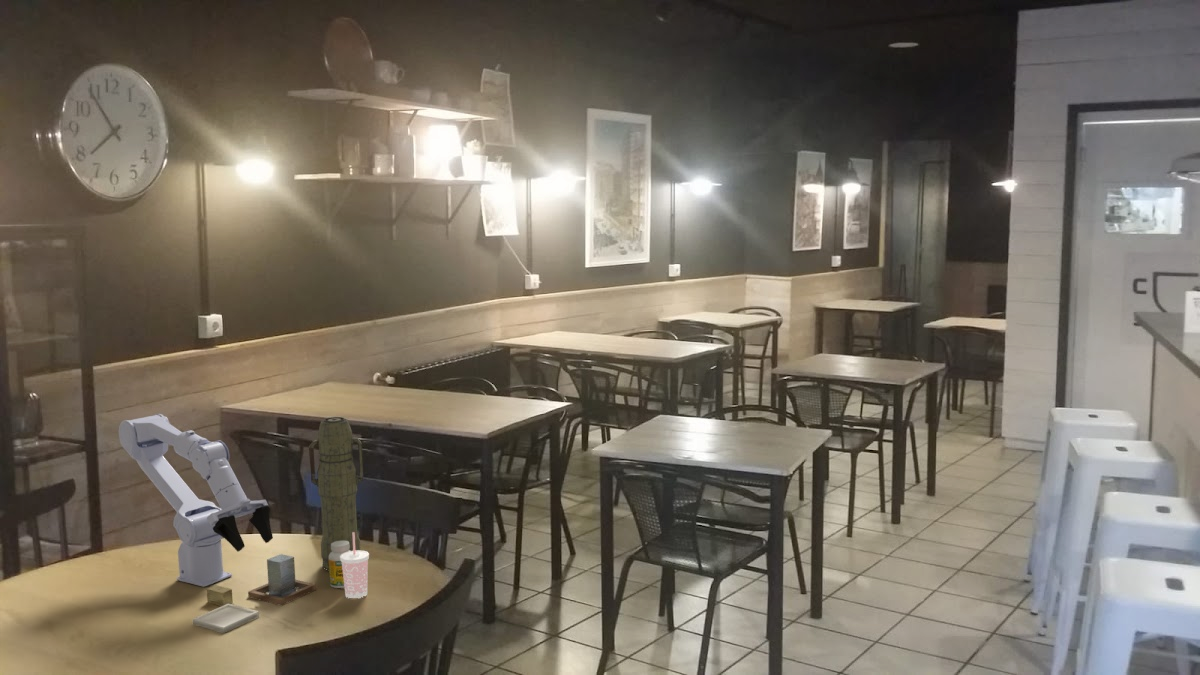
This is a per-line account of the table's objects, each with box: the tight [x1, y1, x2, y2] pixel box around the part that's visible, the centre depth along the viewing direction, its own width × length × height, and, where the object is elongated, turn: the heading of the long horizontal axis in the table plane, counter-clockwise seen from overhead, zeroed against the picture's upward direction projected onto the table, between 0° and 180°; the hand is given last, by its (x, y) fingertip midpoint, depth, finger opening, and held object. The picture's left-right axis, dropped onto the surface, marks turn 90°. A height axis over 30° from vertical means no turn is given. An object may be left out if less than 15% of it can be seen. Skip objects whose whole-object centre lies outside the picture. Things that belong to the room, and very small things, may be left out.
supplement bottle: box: [328, 541, 350, 589], centre depth 228 cm, size 5×5×10 cm
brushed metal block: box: [266, 553, 297, 598], centre depth 223 cm, size 4×4×8 cm
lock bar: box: [206, 584, 233, 607], centre depth 219 cm, size 5×2×3 cm, turn 60°
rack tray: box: [192, 603, 260, 634], centre depth 209 cm, size 9×9×1 cm
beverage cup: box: [340, 532, 370, 599], centre depth 221 cm, size 6×6×14 cm
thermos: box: [308, 416, 364, 571], centre depth 238 cm, size 9×12×35 cm
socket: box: [247, 579, 317, 606], centre depth 224 cm, size 10×10×1 cm
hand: (255, 544), depth 221 cm, fingers open, 7 cm apart
